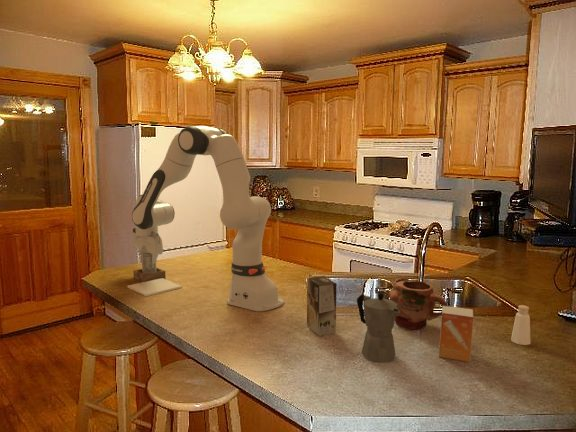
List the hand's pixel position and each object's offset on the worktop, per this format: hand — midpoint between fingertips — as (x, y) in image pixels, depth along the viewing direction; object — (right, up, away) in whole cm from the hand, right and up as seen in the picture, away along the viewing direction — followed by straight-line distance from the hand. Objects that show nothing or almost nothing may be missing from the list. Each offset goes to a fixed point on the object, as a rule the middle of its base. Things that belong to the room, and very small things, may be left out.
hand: (148, 261), depth 193 cm
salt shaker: (+132, -18, -62) cm, 146 cm away
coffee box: (+72, -16, -53) cm, 91 cm away
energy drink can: (0, -8, +1) cm, 8 cm away
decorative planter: (+103, -16, -51) cm, 116 cm away
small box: (+108, -19, -71) cm, 131 cm away
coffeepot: (+86, -19, -70) cm, 113 cm away
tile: (+6, -10, -12) cm, 17 cm away
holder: (0, -8, +1) cm, 8 cm away
